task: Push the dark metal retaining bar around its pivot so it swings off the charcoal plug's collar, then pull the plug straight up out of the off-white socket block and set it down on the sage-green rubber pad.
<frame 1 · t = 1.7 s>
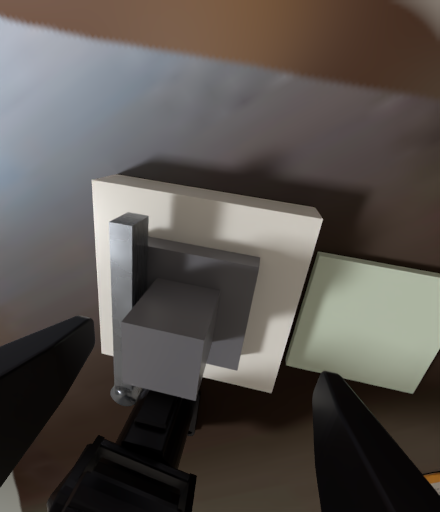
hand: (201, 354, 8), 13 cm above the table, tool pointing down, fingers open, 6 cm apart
pad: (366, 323, 21), on the table
supplement box: (437, 496, 27), on the table
retaining bar: (135, 312, 18), point 5 cm above the table, hinge at 0.0°
plug: (200, 280, 21), resting in socket block
socket block: (201, 278, 22), on the table
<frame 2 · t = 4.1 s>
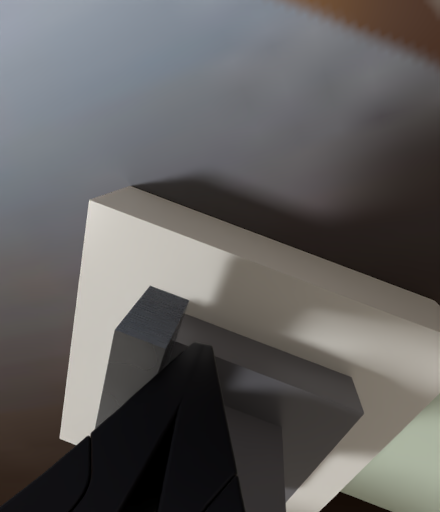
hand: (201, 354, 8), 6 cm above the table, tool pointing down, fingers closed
retaining bar: (128, 431, 10), point 5 cm above the table, hinge at 0.5°, touching gripper
plug: (226, 360, 14), resting in socket block
socket block: (227, 355, 15), on the table
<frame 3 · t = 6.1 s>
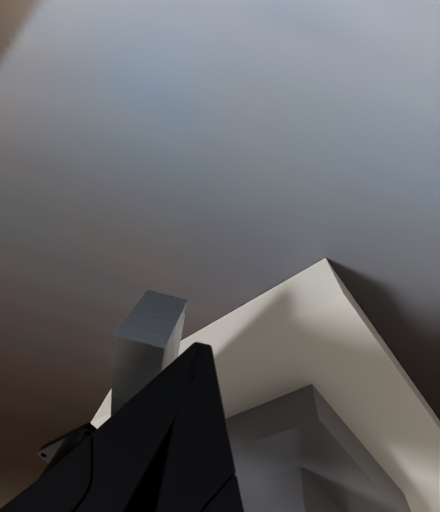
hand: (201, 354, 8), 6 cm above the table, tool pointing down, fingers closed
retaining bar: (147, 437, 10), point 5 cm above the table, hinge at 40.5°, touching gripper
plug: (279, 416, 16), resting in socket block
socket block: (279, 410, 16), on the table
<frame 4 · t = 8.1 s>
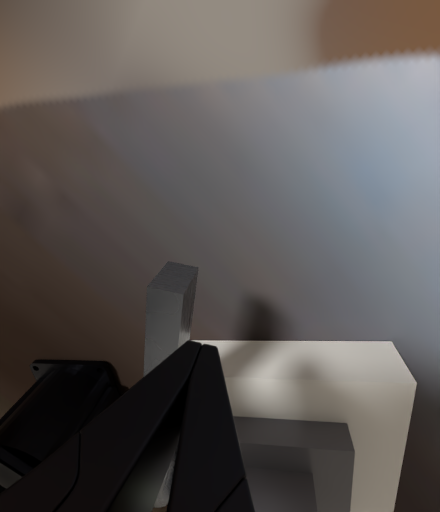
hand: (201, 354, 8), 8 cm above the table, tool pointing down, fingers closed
retaining bar: (170, 387, 13), point 5 cm above the table, hinge at 74.3°
plug: (274, 423, 19), resting in socket block
socket block: (274, 419, 20), on the table
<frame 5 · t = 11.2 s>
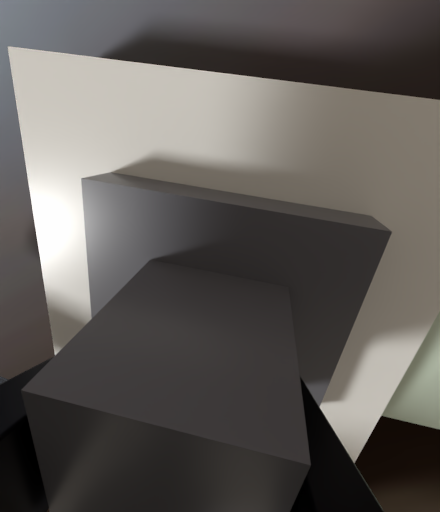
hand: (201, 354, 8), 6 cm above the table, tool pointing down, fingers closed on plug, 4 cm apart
plug: (227, 270, 12), resting in socket block, touching gripper
socket block: (229, 267, 13), on the table
when the fingers open (7 cm above the table, at t = 15.4 s): plug stays where it is, resting on pad.
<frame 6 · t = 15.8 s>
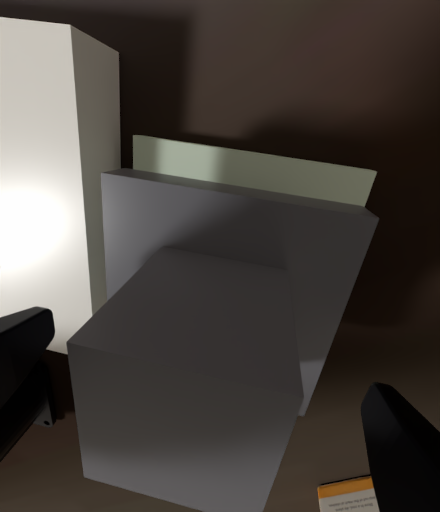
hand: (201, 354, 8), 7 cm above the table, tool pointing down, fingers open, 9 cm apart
pad: (233, 256, 14), on the table
supplement box: (370, 508, 20), on the table
plug: (231, 261, 13), point 1 cm above the table, touching pad
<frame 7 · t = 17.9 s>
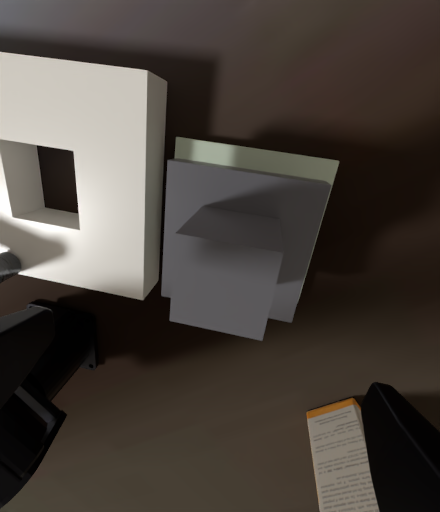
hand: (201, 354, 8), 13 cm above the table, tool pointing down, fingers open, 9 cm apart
pad: (242, 223, 19), on the table
supplement box: (348, 429, 26), on the table
plug: (241, 226, 19), point 1 cm above the table, touching pad
socket block: (71, 180, 20), on the table
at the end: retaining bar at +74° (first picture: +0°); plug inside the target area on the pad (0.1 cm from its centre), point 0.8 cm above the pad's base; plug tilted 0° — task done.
